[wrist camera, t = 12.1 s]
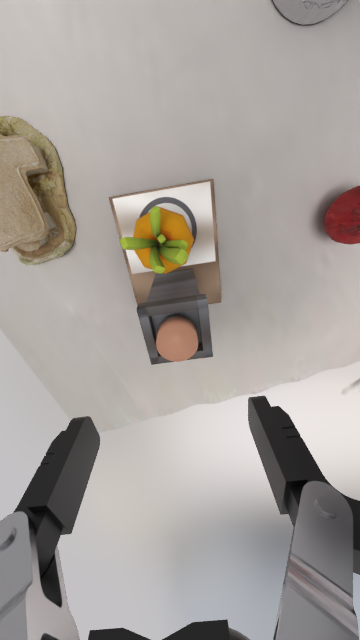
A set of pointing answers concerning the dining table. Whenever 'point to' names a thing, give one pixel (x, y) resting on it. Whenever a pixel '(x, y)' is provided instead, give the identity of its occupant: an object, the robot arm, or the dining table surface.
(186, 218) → the dispenser stand
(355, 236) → the onion
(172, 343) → the button
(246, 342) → the dining table surface
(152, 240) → the carrot
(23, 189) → the ceramic model
